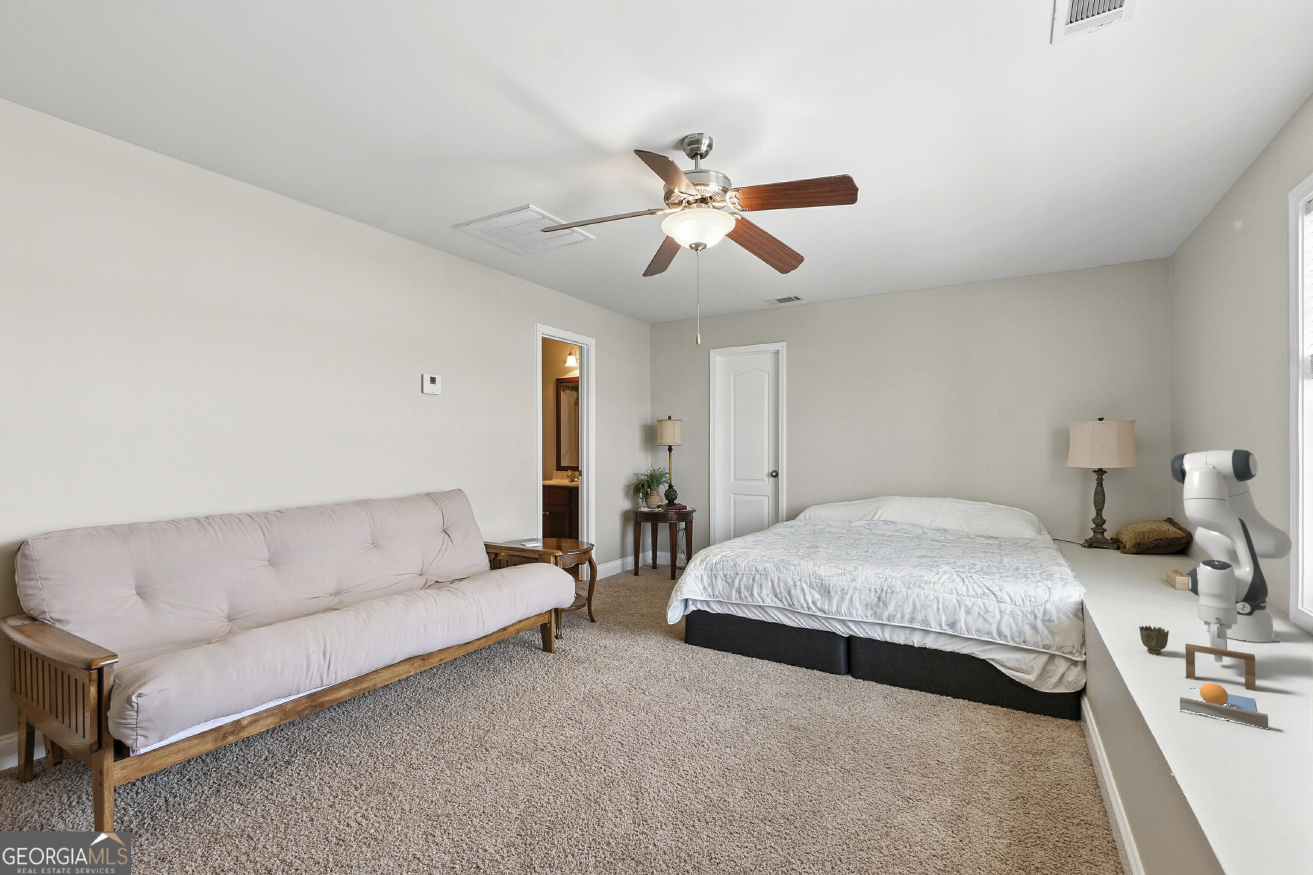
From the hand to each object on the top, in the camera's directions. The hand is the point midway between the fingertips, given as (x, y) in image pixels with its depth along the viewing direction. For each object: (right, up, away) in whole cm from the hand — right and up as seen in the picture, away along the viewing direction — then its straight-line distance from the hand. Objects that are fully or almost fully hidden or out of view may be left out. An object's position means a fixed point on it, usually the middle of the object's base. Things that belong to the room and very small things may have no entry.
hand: (1218, 660), depth 188 cm
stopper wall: (-31, -2, -35) cm, 47 cm away
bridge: (-11, -2, -13) cm, 17 cm away
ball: (-26, +1, -27) cm, 38 cm away
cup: (-10, -2, +12) cm, 16 cm away
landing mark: (-22, -2, -25) cm, 33 cm away
